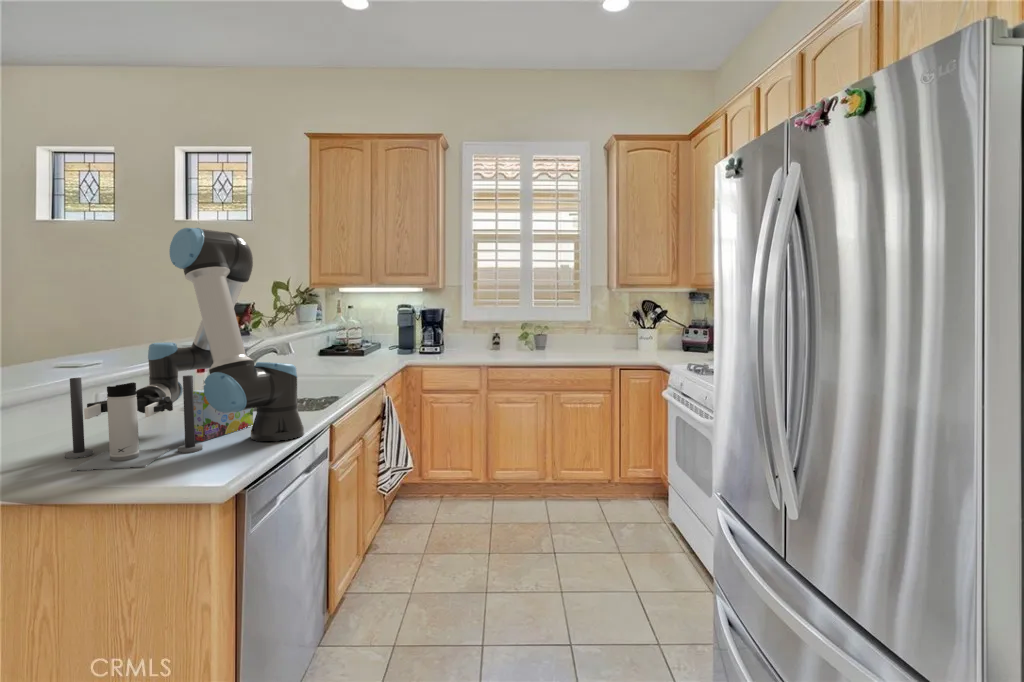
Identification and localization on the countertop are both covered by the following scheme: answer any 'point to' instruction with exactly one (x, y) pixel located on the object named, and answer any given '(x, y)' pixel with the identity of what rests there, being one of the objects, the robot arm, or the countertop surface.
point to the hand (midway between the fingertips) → (116, 413)
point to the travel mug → (123, 422)
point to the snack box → (216, 419)
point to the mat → (105, 463)
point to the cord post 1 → (77, 421)
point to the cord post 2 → (189, 417)
